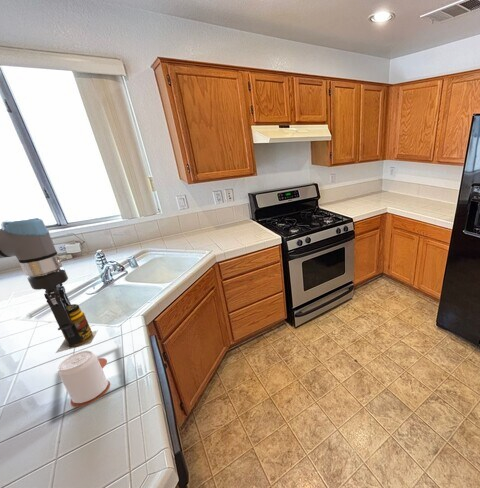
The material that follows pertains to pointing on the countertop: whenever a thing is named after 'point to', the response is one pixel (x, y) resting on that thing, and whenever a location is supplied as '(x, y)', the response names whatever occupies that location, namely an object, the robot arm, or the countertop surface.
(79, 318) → the condiment
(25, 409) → the countertop surface
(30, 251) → the robot arm
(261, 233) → the countertop surface
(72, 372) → the white upturned tub
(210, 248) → the countertop surface
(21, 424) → the countertop surface
